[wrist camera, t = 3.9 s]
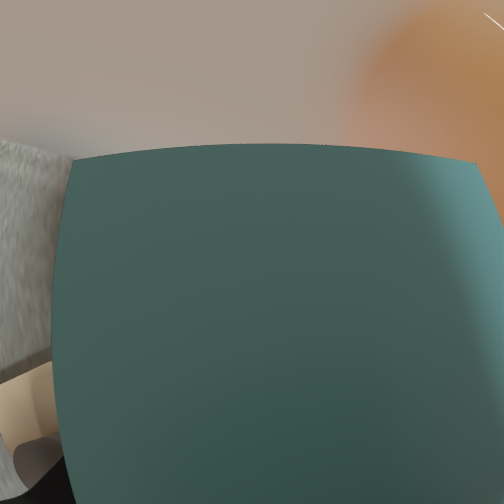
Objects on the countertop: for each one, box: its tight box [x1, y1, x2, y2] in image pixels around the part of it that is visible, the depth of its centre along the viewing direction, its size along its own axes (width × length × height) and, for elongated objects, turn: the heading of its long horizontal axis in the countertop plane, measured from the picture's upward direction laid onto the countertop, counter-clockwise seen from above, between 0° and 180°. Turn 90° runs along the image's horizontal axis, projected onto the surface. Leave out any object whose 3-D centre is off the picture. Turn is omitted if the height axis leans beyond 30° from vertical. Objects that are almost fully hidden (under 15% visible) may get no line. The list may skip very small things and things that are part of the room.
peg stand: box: [0, 360, 64, 489], centre depth 9 cm, size 10×9×4 cm
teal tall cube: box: [51, 144, 504, 504], centre depth 8 cm, size 6×6×13 cm
